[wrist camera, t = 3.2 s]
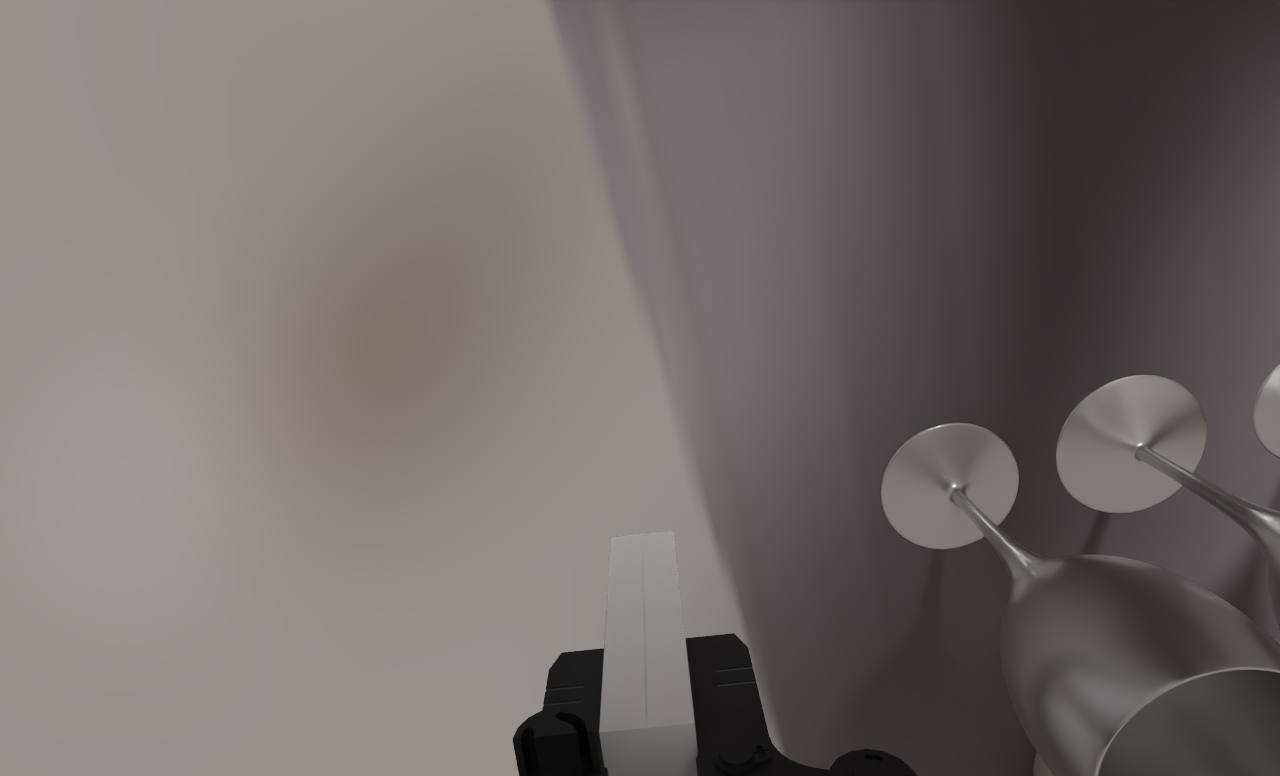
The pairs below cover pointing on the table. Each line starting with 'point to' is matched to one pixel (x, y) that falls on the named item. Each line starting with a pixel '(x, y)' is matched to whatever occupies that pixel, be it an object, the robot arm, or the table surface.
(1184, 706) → the goblet set
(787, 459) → the table surface
